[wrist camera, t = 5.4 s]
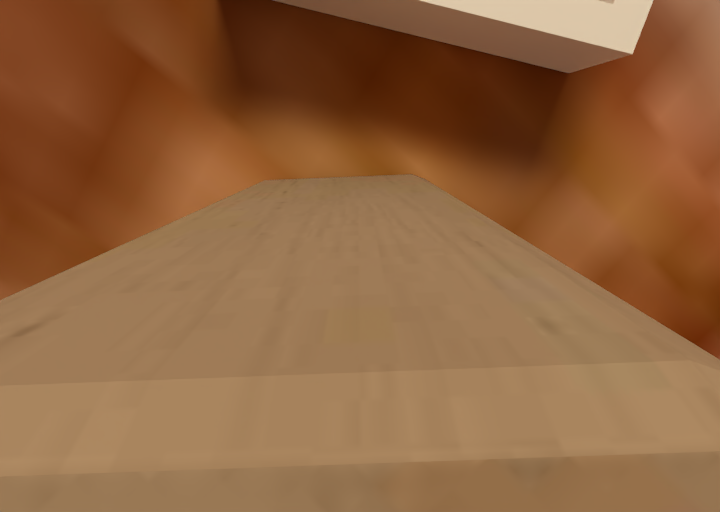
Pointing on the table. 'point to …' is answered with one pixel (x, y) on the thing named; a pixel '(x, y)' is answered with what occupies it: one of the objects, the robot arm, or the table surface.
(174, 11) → the table surface
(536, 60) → the box
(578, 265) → the table surface
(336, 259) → the wooden block
